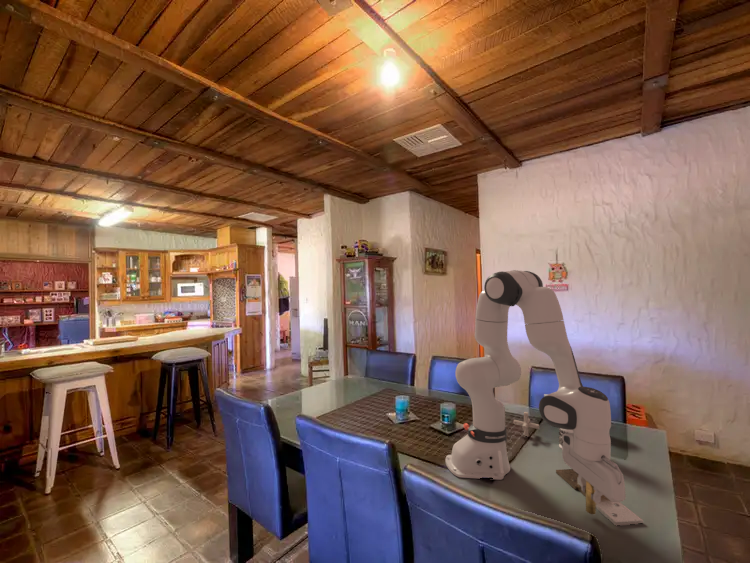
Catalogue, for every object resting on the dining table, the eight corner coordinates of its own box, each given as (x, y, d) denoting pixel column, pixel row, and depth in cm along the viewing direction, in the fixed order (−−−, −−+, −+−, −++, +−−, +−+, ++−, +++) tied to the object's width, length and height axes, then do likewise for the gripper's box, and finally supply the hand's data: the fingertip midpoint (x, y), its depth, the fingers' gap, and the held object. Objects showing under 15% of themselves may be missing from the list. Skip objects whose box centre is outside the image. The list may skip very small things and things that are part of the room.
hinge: (643, 523, 94) (642, 509, 94) (615, 525, 93) (615, 510, 93) (577, 471, 120) (577, 460, 120) (555, 472, 119) (555, 461, 119)
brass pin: (589, 514, 95) (590, 482, 95) (583, 508, 98) (584, 477, 98) (597, 514, 96) (598, 481, 96) (591, 508, 98) (592, 476, 98)
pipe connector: (540, 434, 150) (540, 411, 150) (537, 443, 142) (537, 418, 142) (516, 429, 155) (515, 406, 155) (511, 437, 147) (511, 413, 147)
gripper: (633, 467, 86) (632, 522, 87) (577, 431, 107) (576, 475, 107) (609, 468, 86) (609, 523, 86) (558, 431, 106) (557, 476, 106)
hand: (590, 496), depth 97 cm, fingers closed on brass pin, 2 cm apart
